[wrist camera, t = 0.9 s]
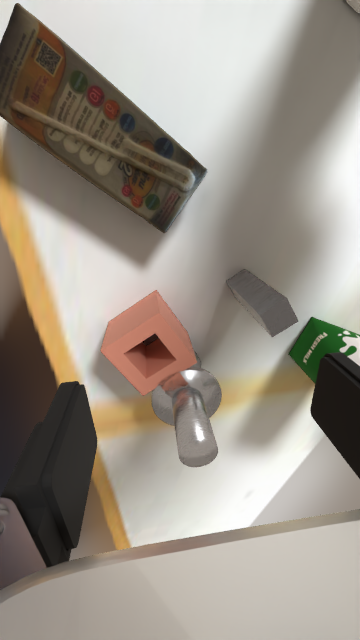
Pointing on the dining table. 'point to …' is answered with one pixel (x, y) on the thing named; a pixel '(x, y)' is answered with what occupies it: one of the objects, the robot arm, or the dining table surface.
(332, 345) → the milk carton
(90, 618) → the robot arm
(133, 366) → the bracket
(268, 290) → the gray square bar
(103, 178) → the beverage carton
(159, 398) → the silver flanged rod
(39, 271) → the dining table surface
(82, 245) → the dining table surface
